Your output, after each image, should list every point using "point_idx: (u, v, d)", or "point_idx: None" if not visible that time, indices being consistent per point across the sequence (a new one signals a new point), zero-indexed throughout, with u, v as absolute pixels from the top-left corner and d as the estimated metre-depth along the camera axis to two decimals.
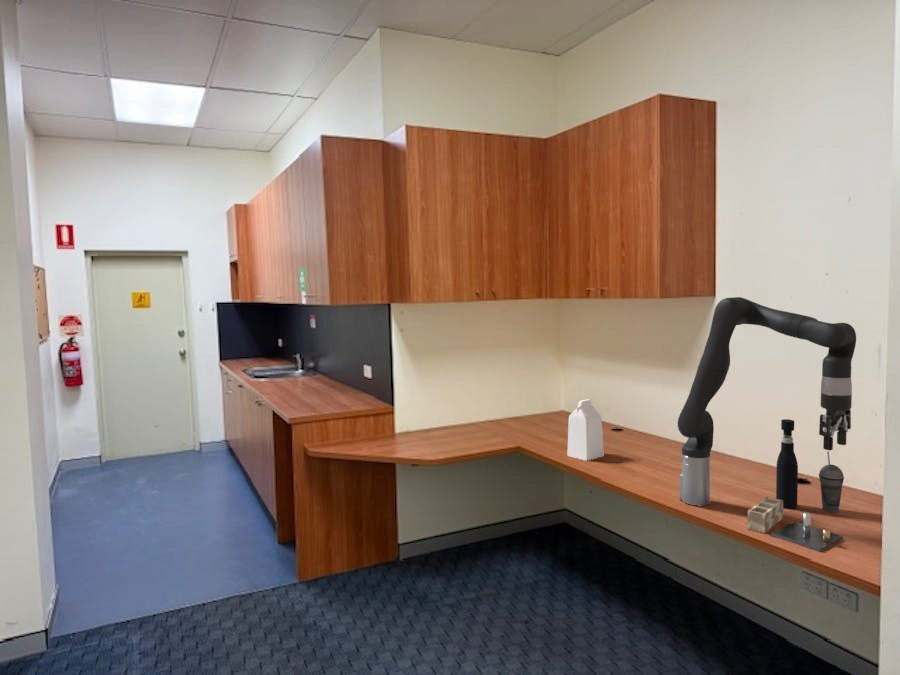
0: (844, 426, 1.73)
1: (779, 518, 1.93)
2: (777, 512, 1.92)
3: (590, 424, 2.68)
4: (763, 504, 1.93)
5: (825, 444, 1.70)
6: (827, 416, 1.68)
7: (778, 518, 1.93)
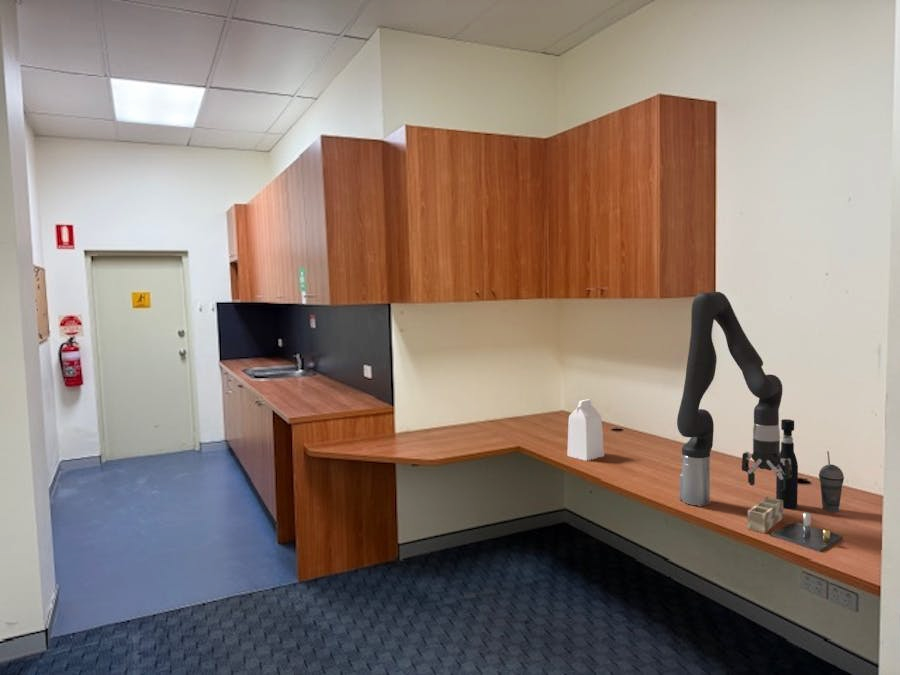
0: None
1: (779, 518, 1.93)
2: (777, 512, 1.92)
3: (590, 424, 2.68)
4: (763, 504, 1.93)
5: None
6: (790, 459, 1.85)
7: (778, 518, 1.93)
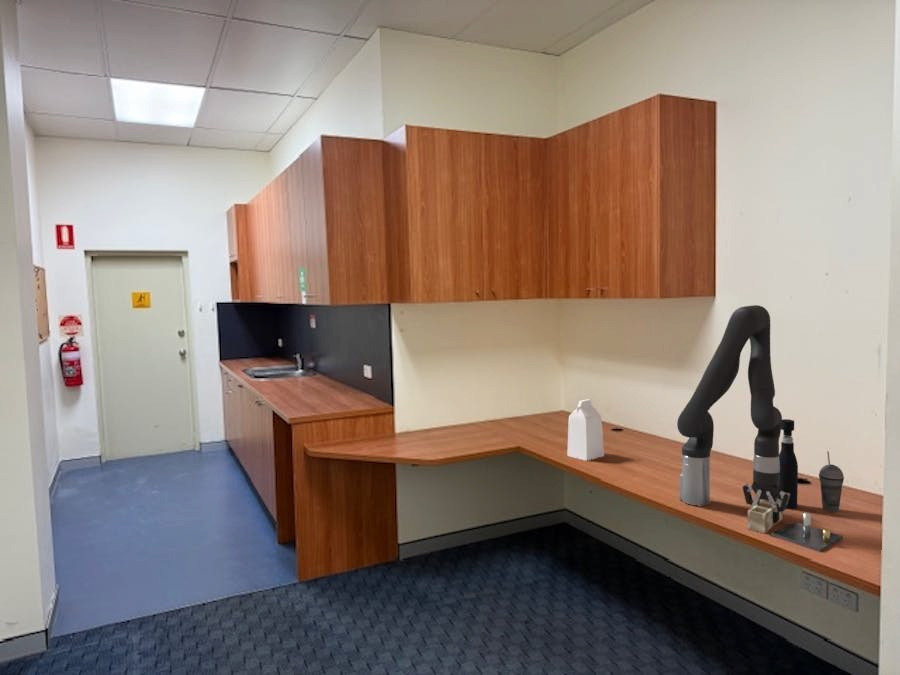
0: (761, 498, 1.93)
1: (779, 518, 1.93)
2: None
3: (590, 424, 2.68)
4: (763, 504, 1.93)
5: None
6: (789, 494, 1.86)
7: None
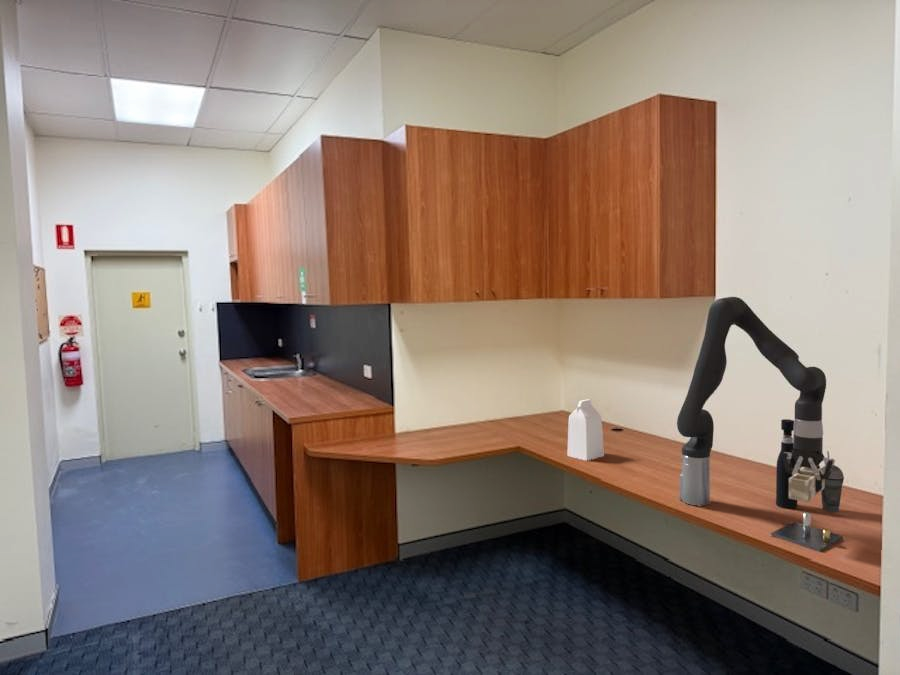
0: (801, 466, 1.81)
1: None
2: None
3: (590, 424, 2.68)
4: (804, 472, 1.81)
5: None
6: (833, 460, 1.74)
7: None
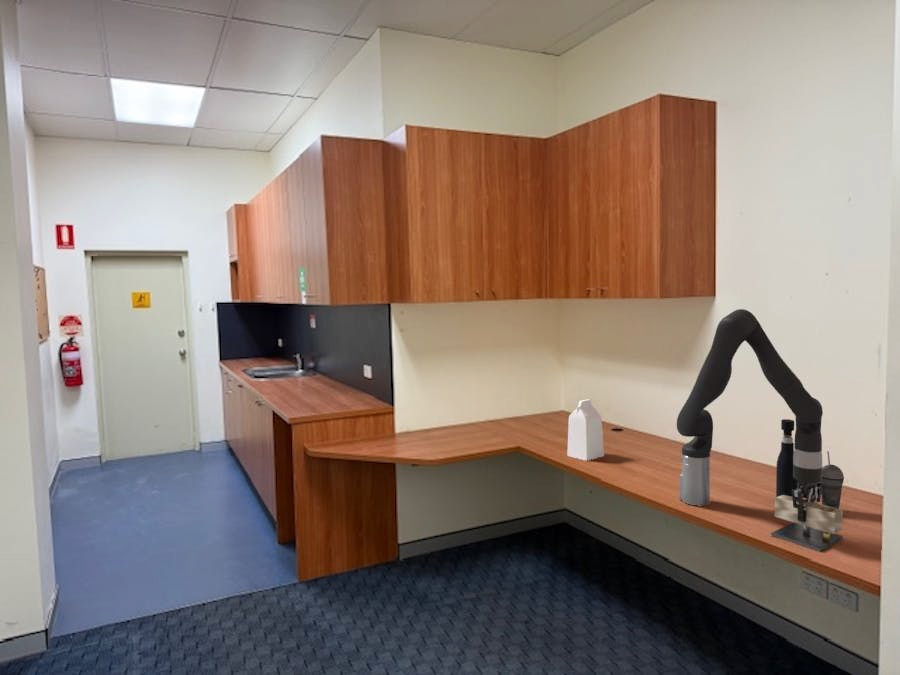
0: None
1: None
2: None
3: (590, 424, 2.68)
4: None
5: None
6: None
7: None
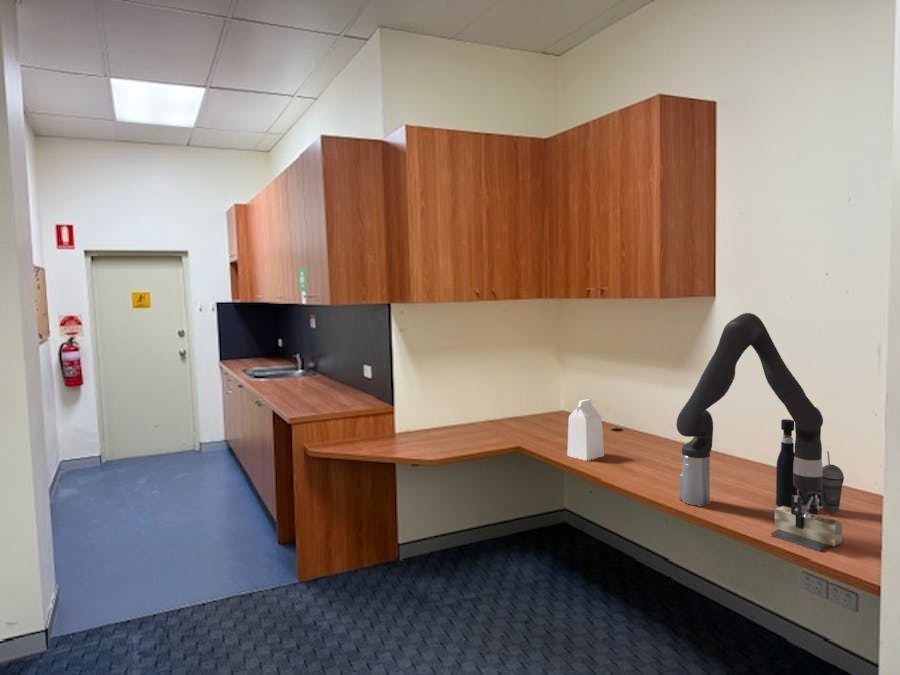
0: None
1: None
2: None
3: (590, 424, 2.68)
4: None
5: None
6: None
7: None
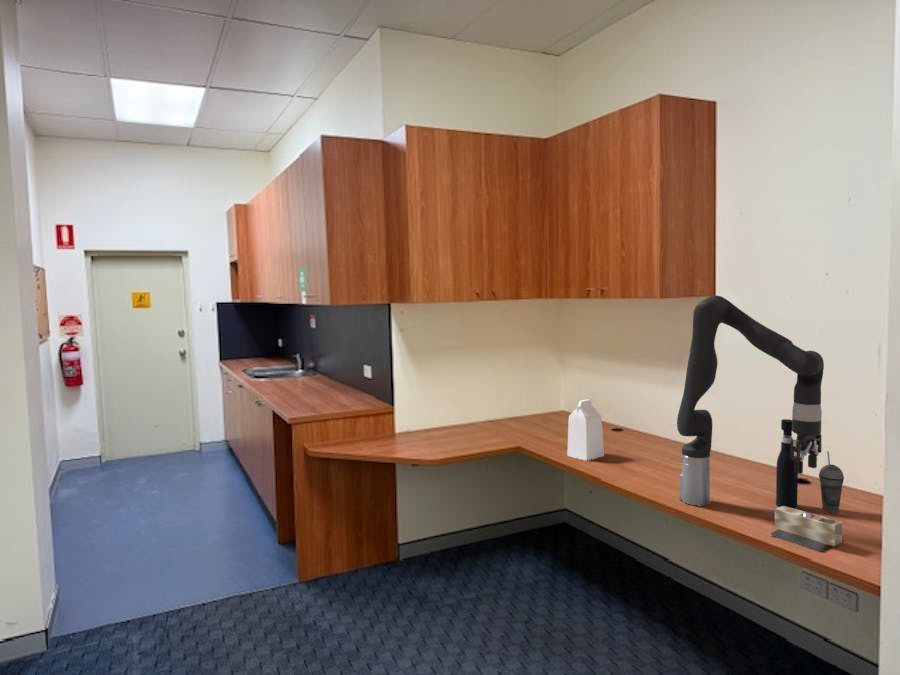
0: None
1: None
2: None
3: (590, 424, 2.68)
4: None
5: None
6: None
7: None
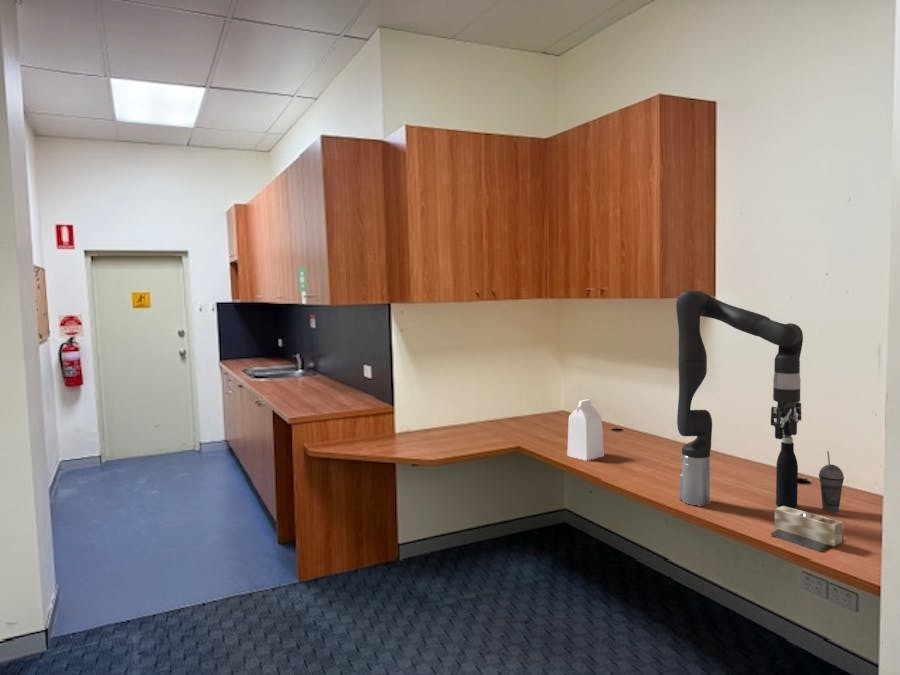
0: None
1: None
2: None
3: (590, 424, 2.68)
4: None
5: None
6: None
7: None
